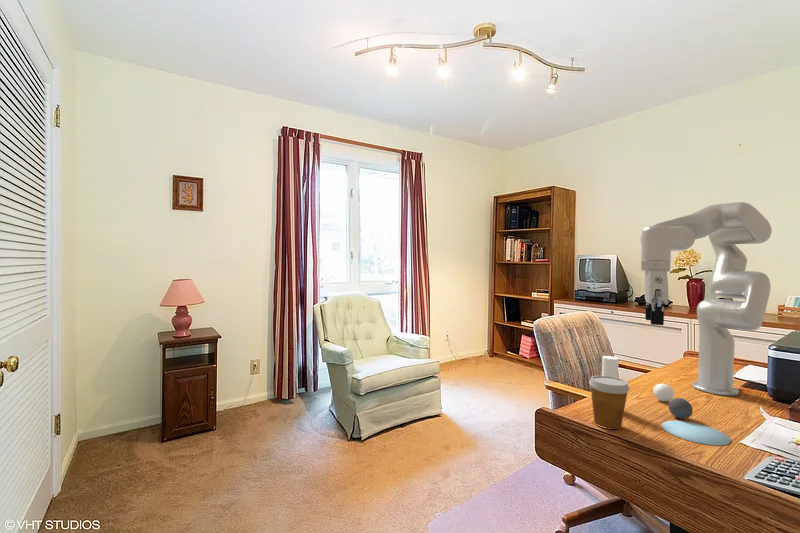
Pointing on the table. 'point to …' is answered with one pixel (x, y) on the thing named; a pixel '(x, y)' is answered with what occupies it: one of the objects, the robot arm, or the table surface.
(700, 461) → the table surface
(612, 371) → the tube
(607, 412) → the disposable coffee cup
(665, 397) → the cue ball
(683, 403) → the object ball
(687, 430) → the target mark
